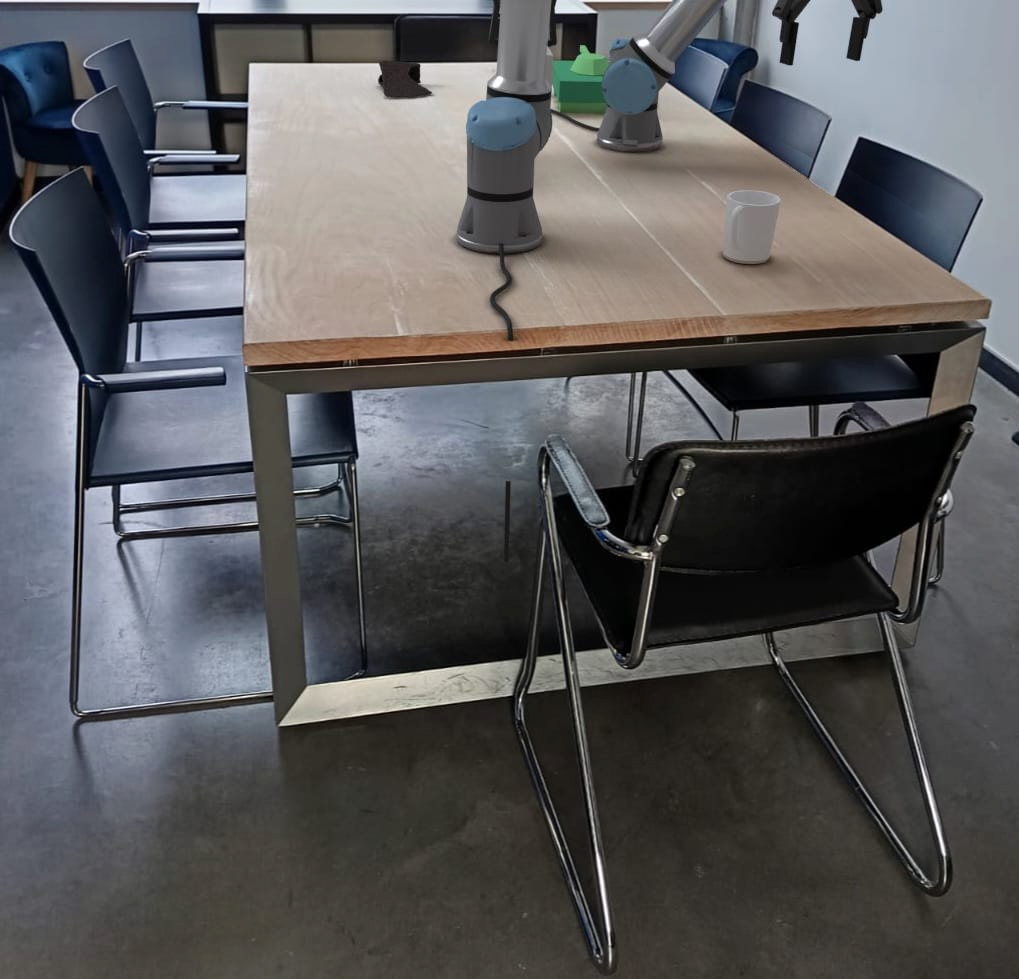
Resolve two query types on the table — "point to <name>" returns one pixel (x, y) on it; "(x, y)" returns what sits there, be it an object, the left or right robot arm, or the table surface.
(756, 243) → the mug
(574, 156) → the table surface
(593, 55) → the toy tank
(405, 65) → the axe head
